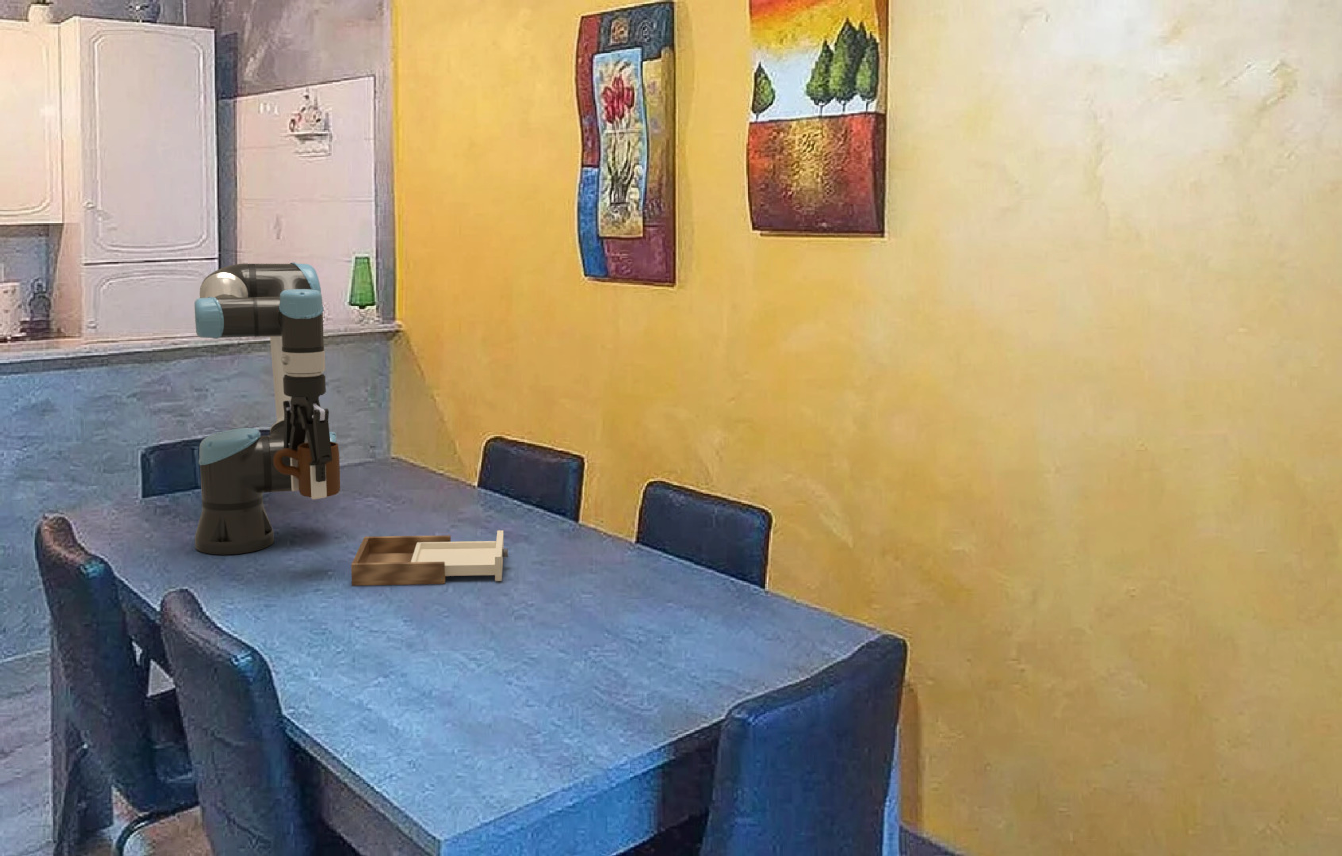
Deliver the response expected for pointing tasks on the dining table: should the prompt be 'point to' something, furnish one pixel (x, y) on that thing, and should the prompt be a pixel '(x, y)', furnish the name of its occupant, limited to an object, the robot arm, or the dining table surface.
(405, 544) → the frame
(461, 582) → the dining table surface
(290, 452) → the mug
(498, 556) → the drawer
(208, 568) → the dining table surface
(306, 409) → the robot arm
